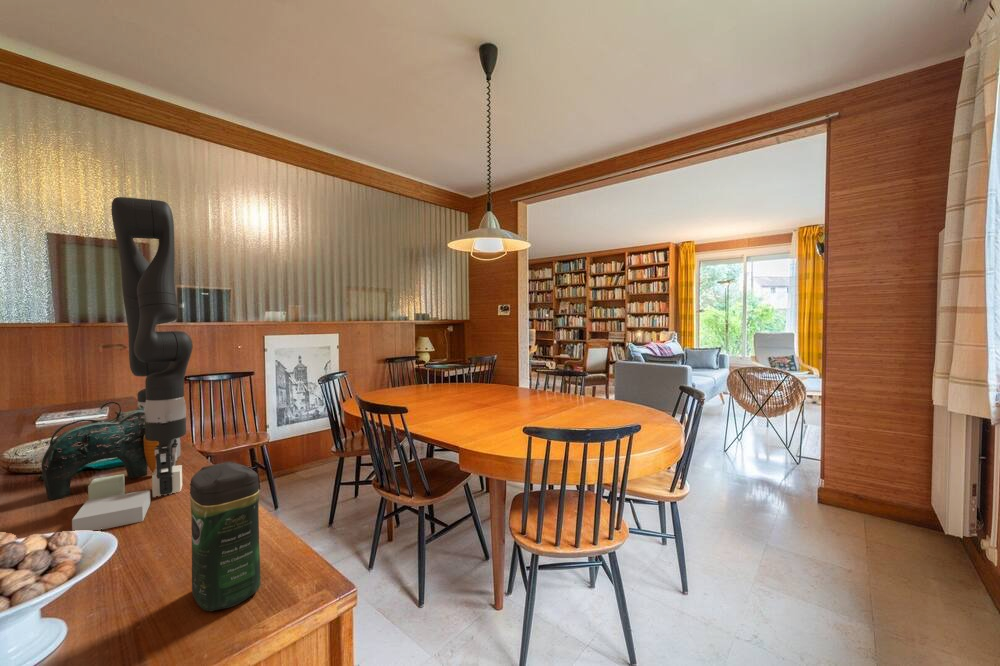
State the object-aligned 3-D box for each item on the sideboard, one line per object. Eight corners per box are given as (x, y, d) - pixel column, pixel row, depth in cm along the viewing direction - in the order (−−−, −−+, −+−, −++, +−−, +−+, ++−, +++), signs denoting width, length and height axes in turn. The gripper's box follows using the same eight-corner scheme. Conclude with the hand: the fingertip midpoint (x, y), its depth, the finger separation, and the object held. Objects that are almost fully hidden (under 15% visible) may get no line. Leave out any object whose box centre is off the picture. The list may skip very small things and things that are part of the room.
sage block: (95, 500, 93) (94, 478, 93) (124, 495, 96) (124, 474, 95) (88, 509, 89) (88, 486, 88) (120, 503, 91) (119, 481, 91)
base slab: (87, 514, 86) (87, 500, 86) (150, 502, 91) (150, 489, 91) (72, 535, 78) (72, 519, 78) (142, 521, 83) (142, 506, 83)
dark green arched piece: (147, 470, 112) (145, 395, 111) (159, 474, 109) (156, 397, 108) (39, 498, 94) (36, 409, 94) (50, 504, 91) (46, 412, 90)
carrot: (158, 479, 105) (157, 419, 105) (139, 479, 105) (137, 419, 105) (174, 472, 110) (173, 415, 110) (155, 471, 110) (154, 415, 110)
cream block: (155, 489, 99) (155, 468, 98) (182, 485, 101) (181, 464, 101) (152, 497, 94) (152, 475, 94) (180, 492, 97) (179, 471, 97)
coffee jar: (268, 593, 61) (266, 467, 61) (204, 622, 55) (201, 483, 55) (246, 567, 68) (243, 453, 67) (186, 591, 62) (183, 466, 61)
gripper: (149, 413, 101) (151, 483, 102) (139, 425, 89) (141, 504, 90) (188, 409, 105) (189, 476, 106) (183, 421, 93) (185, 496, 94)
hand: (167, 489), depth 98 cm, fingers closed on cream block, 5 cm apart
